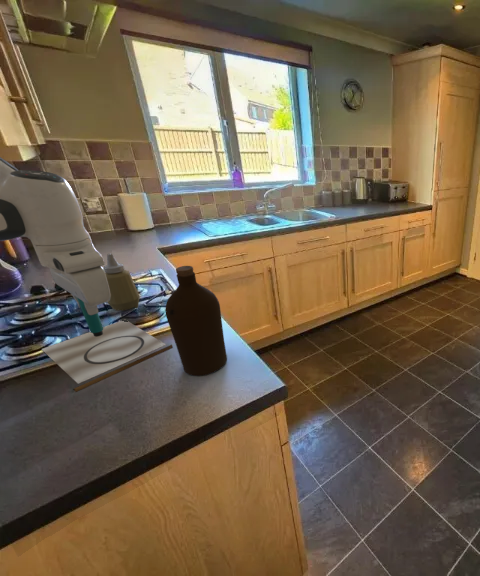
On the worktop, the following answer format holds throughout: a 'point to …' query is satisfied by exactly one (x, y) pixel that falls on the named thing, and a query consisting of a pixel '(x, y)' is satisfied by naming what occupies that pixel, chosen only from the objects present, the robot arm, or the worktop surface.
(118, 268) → the squeeze bottle
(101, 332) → the marker
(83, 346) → the drawing board
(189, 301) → the olive oil
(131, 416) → the worktop surface
